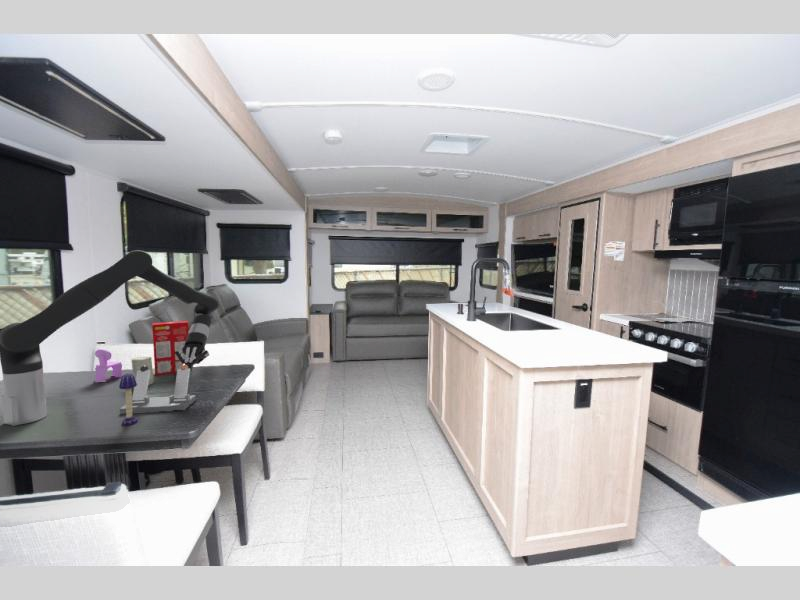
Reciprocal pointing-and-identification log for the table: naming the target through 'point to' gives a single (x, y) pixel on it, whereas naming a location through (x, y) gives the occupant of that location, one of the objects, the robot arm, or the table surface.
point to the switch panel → (160, 404)
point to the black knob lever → (141, 384)
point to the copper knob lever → (182, 382)
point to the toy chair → (106, 366)
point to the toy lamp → (128, 397)
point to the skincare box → (140, 362)
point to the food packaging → (168, 345)
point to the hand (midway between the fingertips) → (186, 372)
